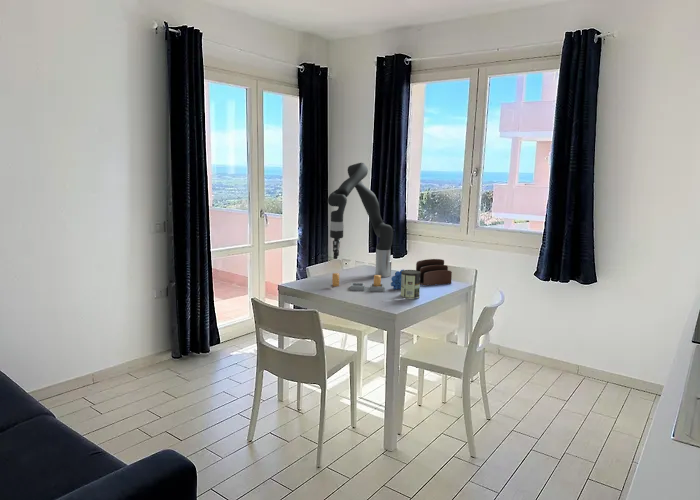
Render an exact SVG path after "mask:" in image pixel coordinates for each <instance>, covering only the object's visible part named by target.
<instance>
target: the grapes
mask: <svg viewBox="0 0 700 500" xmlns="http://www.w3.org/2000/svg"><path fill="white" fill-rule="evenodd" d="M403 270H404V269H400V271H399V270H398V271H396V272H395V273H394V275H393V276H391V278H390V280H391V282H390V286H391V287H393V290H398V289H399V290H401V275H402V273H401V271H403Z"/></svg>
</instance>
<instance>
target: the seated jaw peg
mask: <svg viewBox="0 0 700 500" xmlns="http://www.w3.org/2000/svg"><path fill="white" fill-rule="evenodd" d="M373 283H374V286H378V287H381V284H382V277H381V275H375V274H374V275H373Z"/></svg>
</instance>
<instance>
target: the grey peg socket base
mask: <svg viewBox="0 0 700 500" xmlns="http://www.w3.org/2000/svg"><path fill="white" fill-rule="evenodd" d="M365 284H366V283H365V282H350V286H349V289H348V291H349V292H365V293H386V287H385V284H384V283H381V287H378V286H374V282H373V283H370V286H365Z"/></svg>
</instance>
